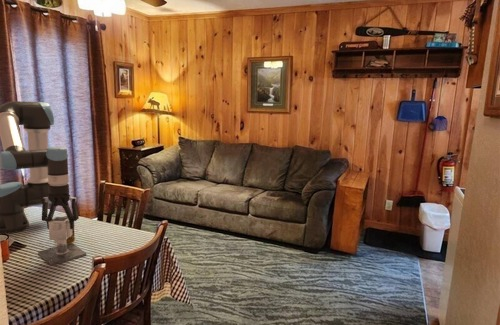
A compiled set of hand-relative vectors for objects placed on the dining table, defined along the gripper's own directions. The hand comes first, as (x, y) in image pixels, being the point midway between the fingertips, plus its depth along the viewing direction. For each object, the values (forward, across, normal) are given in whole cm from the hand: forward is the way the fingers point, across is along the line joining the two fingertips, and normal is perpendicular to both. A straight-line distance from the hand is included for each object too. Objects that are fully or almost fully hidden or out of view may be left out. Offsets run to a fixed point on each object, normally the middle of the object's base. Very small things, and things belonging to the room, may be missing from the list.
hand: (61, 235), depth 143 cm
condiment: (+9, -4, +14) cm, 18 cm away
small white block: (0, 0, 0) cm, 0 cm away
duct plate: (+9, 0, 0) cm, 9 cm away
